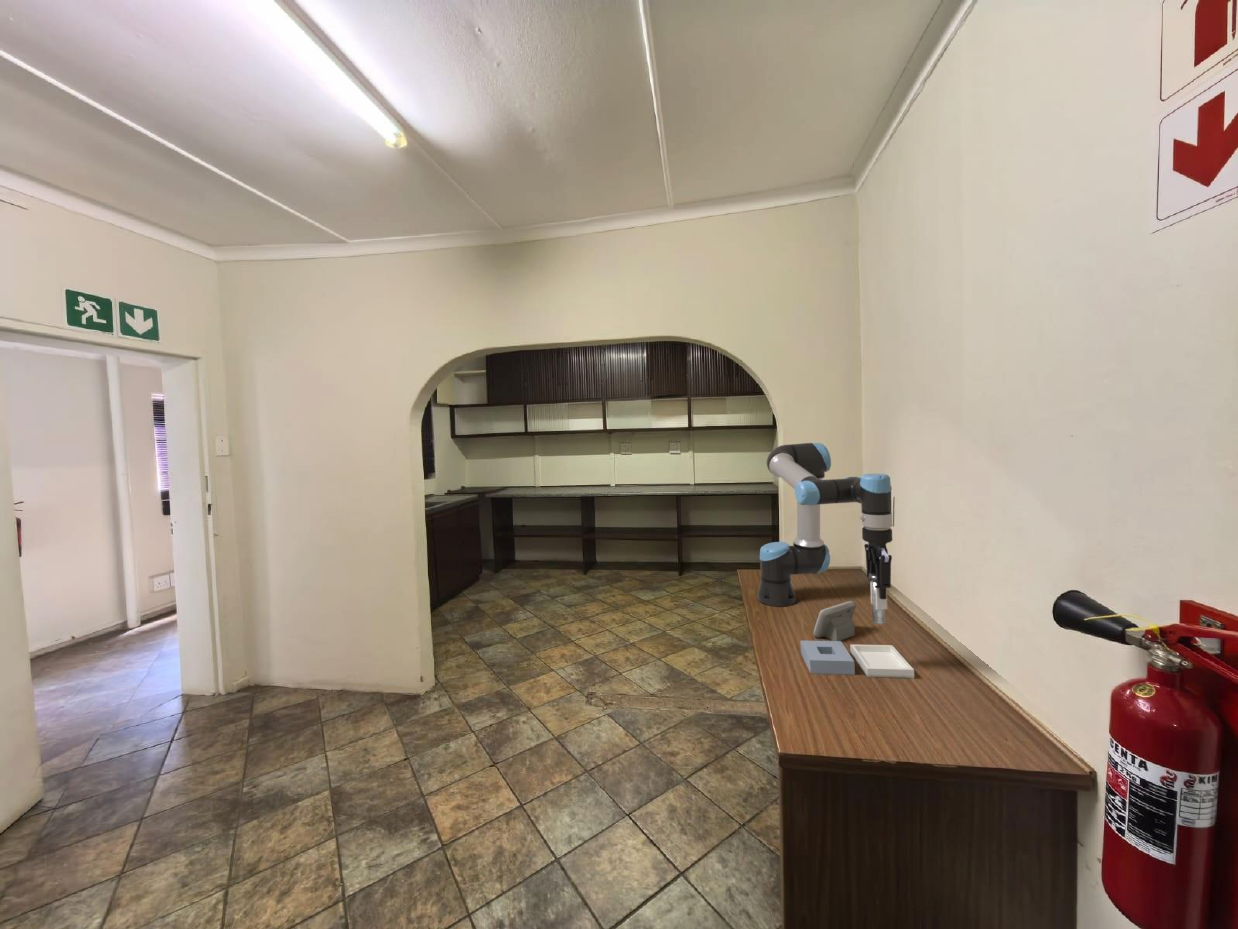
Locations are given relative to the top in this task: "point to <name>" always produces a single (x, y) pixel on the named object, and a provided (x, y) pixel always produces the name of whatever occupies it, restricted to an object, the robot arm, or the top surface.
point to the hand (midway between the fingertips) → (879, 606)
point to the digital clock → (836, 622)
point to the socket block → (827, 657)
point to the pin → (877, 614)
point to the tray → (881, 661)
